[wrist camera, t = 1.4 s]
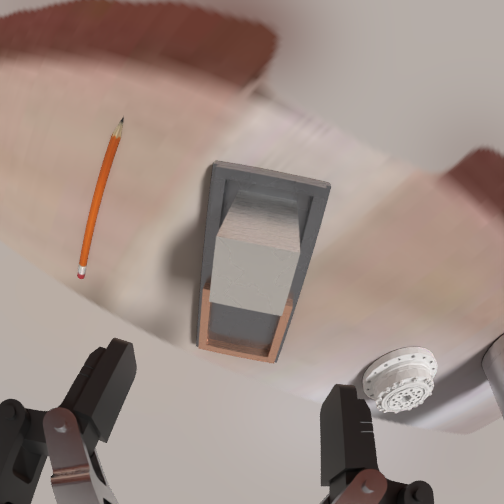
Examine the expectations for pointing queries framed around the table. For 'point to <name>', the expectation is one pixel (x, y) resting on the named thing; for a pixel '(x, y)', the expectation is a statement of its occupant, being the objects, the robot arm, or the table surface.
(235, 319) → the double frame tray
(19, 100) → the table surface
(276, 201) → the block
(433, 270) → the table surface
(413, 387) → the mechanical component
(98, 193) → the pencil
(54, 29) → the table surface
